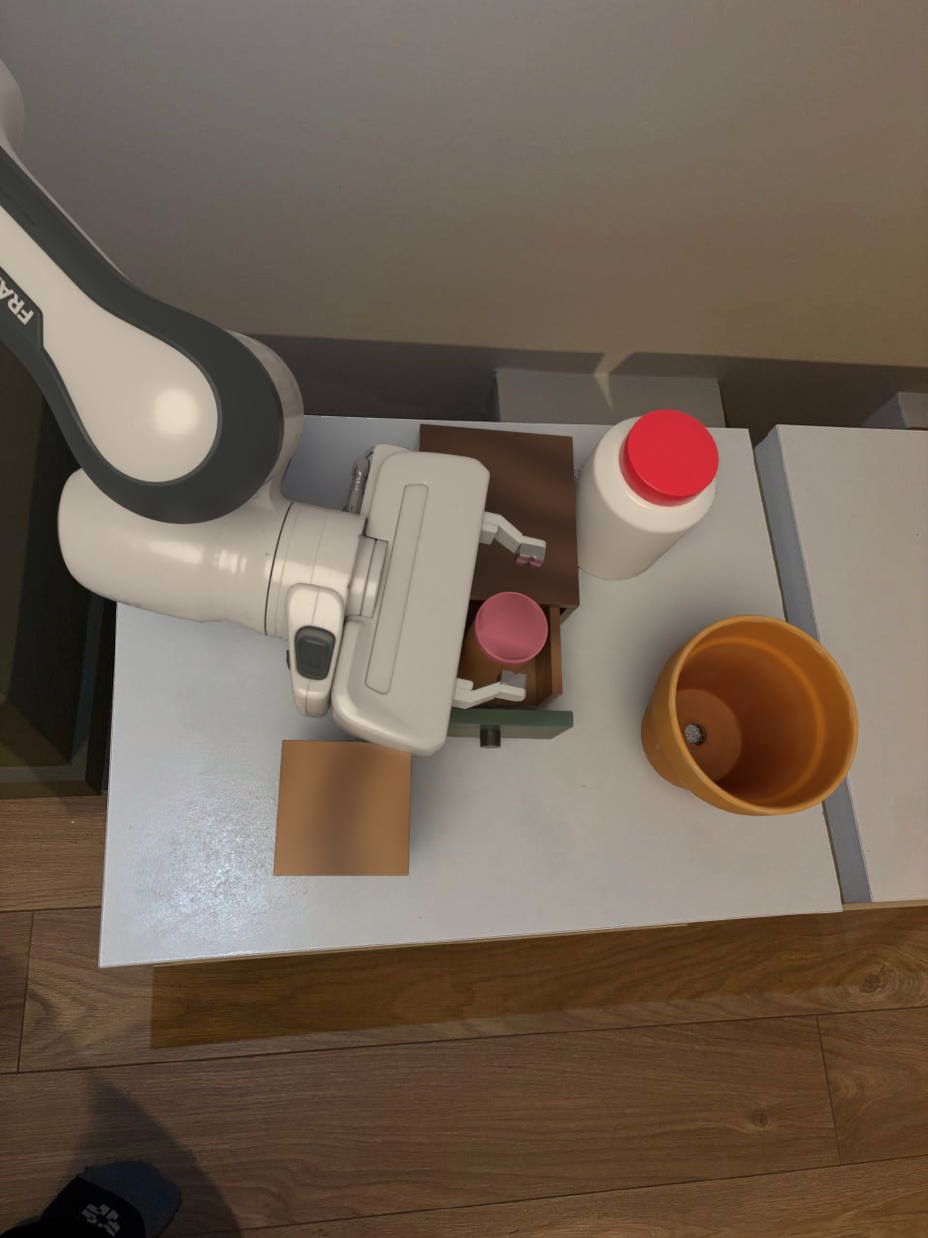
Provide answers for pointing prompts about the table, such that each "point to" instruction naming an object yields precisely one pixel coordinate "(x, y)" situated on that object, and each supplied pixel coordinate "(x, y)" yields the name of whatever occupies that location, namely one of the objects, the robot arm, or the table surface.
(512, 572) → the cabinet
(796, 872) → the table surface
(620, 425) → the pill bottle
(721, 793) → the flower pot
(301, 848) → the stand
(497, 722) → the drawer
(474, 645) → the pink-rimmed cylinder
